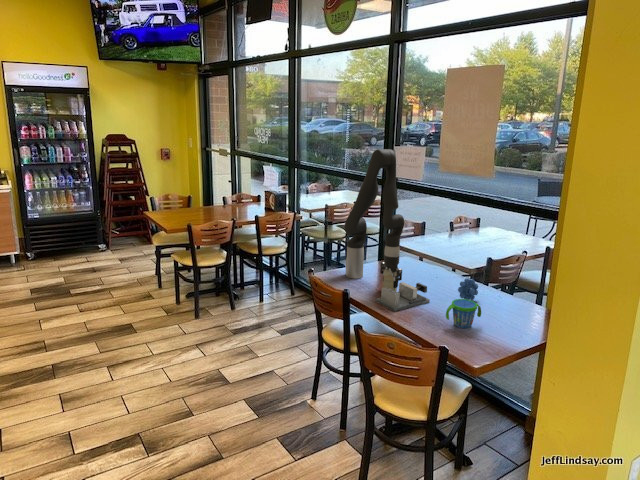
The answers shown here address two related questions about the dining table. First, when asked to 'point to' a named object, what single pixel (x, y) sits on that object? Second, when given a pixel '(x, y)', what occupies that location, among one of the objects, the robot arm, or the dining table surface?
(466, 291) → the grapes
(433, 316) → the dining table surface
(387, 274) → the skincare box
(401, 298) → the vise
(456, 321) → the snack cup
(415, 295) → the free jaw
